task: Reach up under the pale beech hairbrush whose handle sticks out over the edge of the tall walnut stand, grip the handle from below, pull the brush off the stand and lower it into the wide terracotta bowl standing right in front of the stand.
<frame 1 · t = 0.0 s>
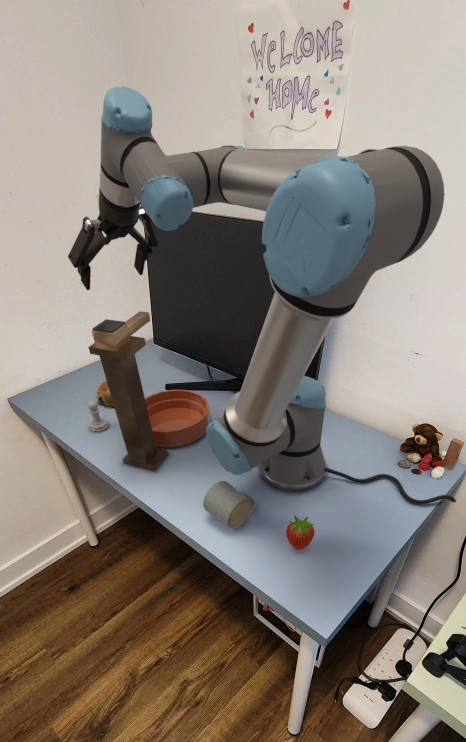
hand: (112, 277, 98), 36 cm above the table, tool tilted 35°, fingers open, 13 cm apart
bread roll: (115, 399, 128), on the table
ceramic mug: (233, 514, 92), on the table
bowl: (174, 426, 117), on the table
chess piece: (99, 427, 118), on the table
stand: (146, 459, 107), on the table
fruit: (298, 547, 85), on the table
hairbrush: (120, 339, 86), point 30 cm above the table, touching stand
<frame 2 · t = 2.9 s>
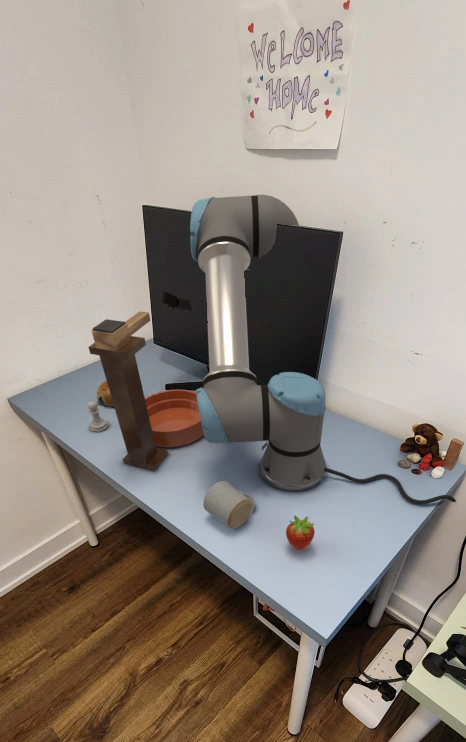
hand: (187, 299, 107), 28 cm above the table, tool pointing upward, fingers open, 13 cm apart
nothing on the table moved.
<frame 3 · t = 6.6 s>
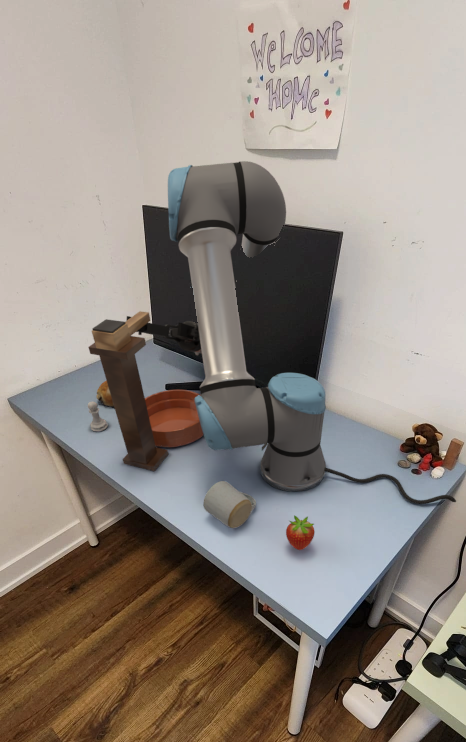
hand: (152, 325, 96), 28 cm above the table, tool pointing upward, fingers open, 13 cm apart
nothing on the table moved.
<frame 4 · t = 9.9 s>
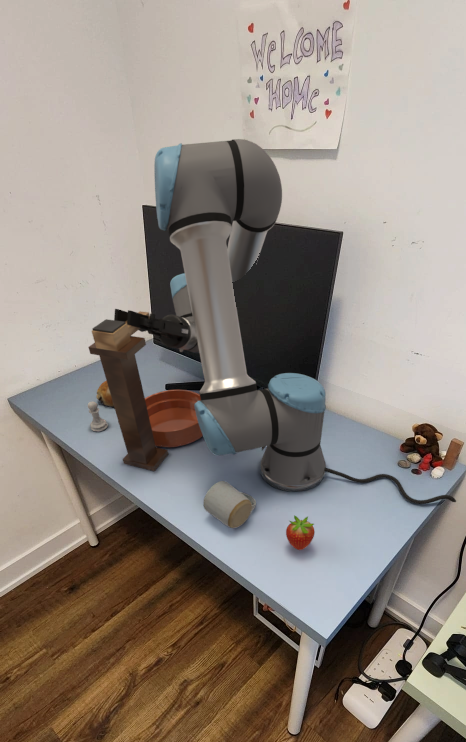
hand: (122, 316, 85), 34 cm above the table, tool pointing upward, fingers closed on hairbrush, 2 cm apart
hairbrush: (120, 339, 86), point 30 cm above the table, touching gripper, stand
everything else where it was.
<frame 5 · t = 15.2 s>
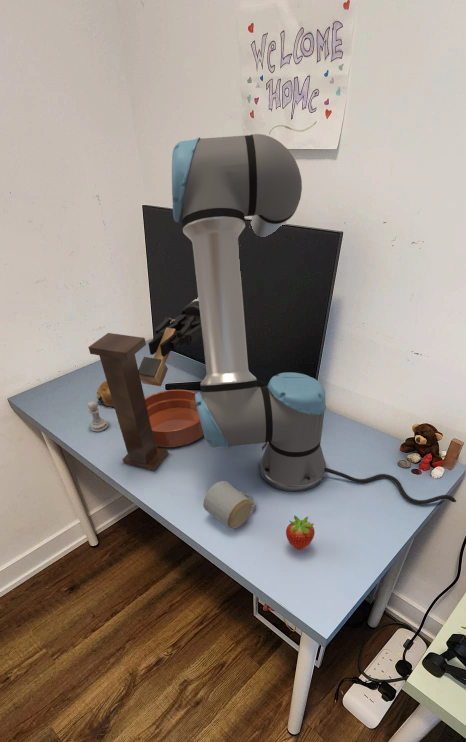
hand: (156, 349, 99), 23 cm above the table, tool horizontal, fingers closed on hairbrush, 2 cm apart
hairbrush: (159, 367, 102), point 19 cm above the table, tilted 28°, touching gripper
everything else where it was.
when the fingers open (8 cm above the table, at t = 19.7 s): hairbrush drops 2 cm, resting on bowl.
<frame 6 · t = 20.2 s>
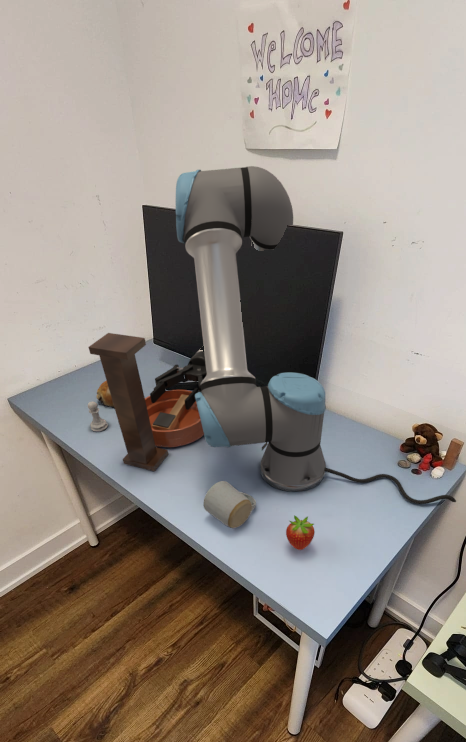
hand: (168, 401, 111), 8 cm above the table, tool horizontal, fingers open, 10 cm apart
hairbrush: (171, 423, 115), point 1 cm above the table, tilted 10°, touching bowl
everything else where it was.
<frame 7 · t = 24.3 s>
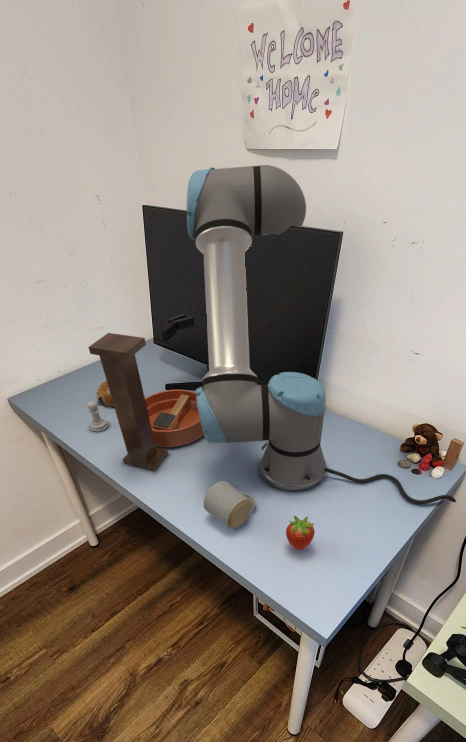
hand: (186, 340, 111), 19 cm above the table, tool horizontal, fingers open, 13 cm apart
nothing on the table moved.
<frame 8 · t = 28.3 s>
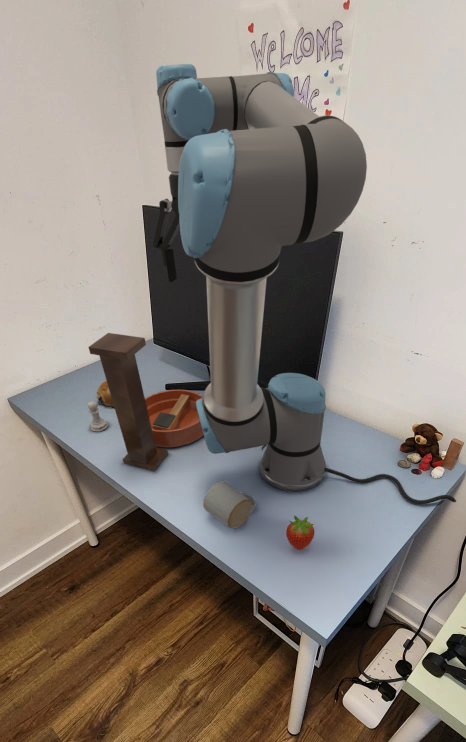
hand: (197, 282, 102), 33 cm above the table, tool pointing down, fingers open, 13 cm apart
nothing on the table moved.
at the end: hairbrush inside the target area in the bowl (0.9 cm from its centre), point 1.4 cm above the bowl's base; the gripper is holding nothing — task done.
